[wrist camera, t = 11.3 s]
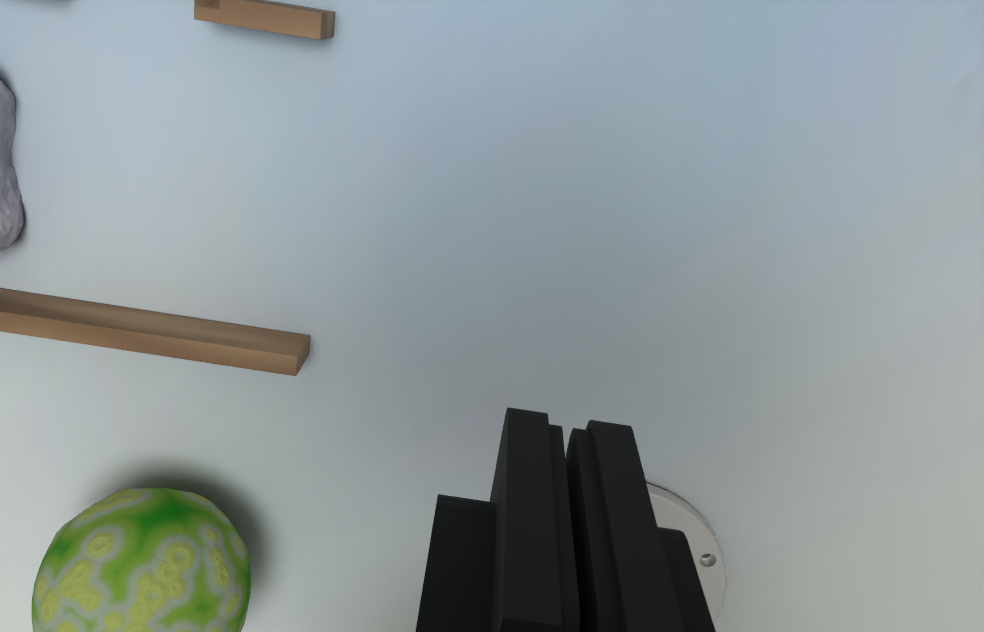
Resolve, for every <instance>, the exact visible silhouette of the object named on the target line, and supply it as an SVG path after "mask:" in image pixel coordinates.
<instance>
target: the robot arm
mask: <svg viewBox="0 0 984 632" xmlns="http://www.w3.org/2000/svg"><path fill="white" fill-rule="evenodd" d="M725 592H726V567H725V564H724V560H723V557H722V553H721V550H720V548H719V545H718V543H717V540H716V538H715V536H714V533H713V531H712V530H711V529H710V527H709V526H708V524H707V523H706V522H705V520H704V519H703V517H702V516H701V515H700V514H699V513H697V512H696V511H695V510H694V509H693V508H692V507H691V506H690V505H689V504H688V503H686V502H685V501H683V500H681V499H680V498H678V497H677V496H675V495H673V494H672V493H670V492H668V491H666V490H663V489H660V488H658V487H655V486H652V485H650V484H647V483H646V480H645V476H644V472H643V469H642V465H641V461H640V457H639V453H638V449H637V445H636V441H635V438H634V434H633V430H632V428H631V426H627V425H620V424H614V423H607V422H601V421H594V420H590V421H589V422H588V425H587V427H586V430H583V429H577V428H573V430H572V432H571V435H570V439H569V444H568V448H567V453H566V458H565V452H564V442H563V431H562V426H557V425H550V424H549V422H548V414H547V413H541V412H535V411H528V410H521V409H515V408H507V411H506V415H505V420H504V425H503V431H502V436H501V442H500V447H499V453H498V458H497V464H496V470H495V475H494V481H493V486H492V492H491V497H490V502H487V501H480V500H474V499H467V498H460V497H453V496H447V495H440V494H438V498H437V504H436V510H435V516H434V522H433V528H432V535H431V541H430V547H429V553H428V559H427V565H426V571H425V577H424V584H423V590H422V596H421V602H420V608H419V614H418V620H417V626H416V632H716V631H715V628H714V625H713V624H714V623H715V621H716V619H717V617H718V614H719V612H720V610H721V608H722V606H723V601H724V596H725Z"/></svg>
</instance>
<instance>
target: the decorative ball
mask: <svg viewBox="0 0 984 632" xmlns="http://www.w3.org/2000/svg"><path fill="white" fill-rule="evenodd" d="M250 589H251V577H250V565H249V558H248V553H247V547H246V545H245V544H244V542H243V540H242V539H241V537H240V535H239V533H238V532H237V531H236V529H235V528H234V526H233V525H232V523H231V522H230V521H229V519H228V518H227V517H226V516H225V515H224V513H223V512H222V511H220V510H219V509H218V508H217V507H216V506H215V505H214V504H213V503H212V502H211V501H209V500H207V499H205V498H204V497H202V496H200V495H198V494H195V493H191V492H185V491H180V490H174V489H169V488H135V489H125V490H121V491H118V492H115V493H113V494H112V495H110V496H108V497H106V498H105V499H103V500H101V501H99V502H97V503H96V504H94V505H92V506H91V507H89V508H87V509H86V510H85V511H83V512H82V513H80V514H79V515H77V516H76V517H75V518H73V519H72V520H70V521H69V522H68V523H66V524H65V525H64V526H63V527H61V529H60V530H59V531H58V532H57V533H56V535H55V537H54V539H53V541H52V542H51V544H50V546H49V548H48V550H47V552H46V554H45V556H44V558H43V560H42V563H41V566H40V568H39V571H38V574H37V577H36V581H35V584H34V591H33V597H32V625H33V632H241V630H242V628H243V626H244V623H245V618H246V613H247V608H248V603H249V598H250Z"/></svg>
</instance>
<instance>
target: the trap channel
mask: <svg viewBox="0 0 984 632" xmlns="http://www.w3.org/2000/svg"><path fill="white" fill-rule="evenodd" d="M194 19H196V20H202V21H208V22H214V23H220V24H227V25H233V26H239V27H245V28H251V29H257V30H263V31H270V32H276V33H282V34H288V35H294V36H300V37H307V38H313V39H319V40H321V39H325V38H329V37H333V33H334V20H335V12H333V11H327V10H321V9H315V8H309V7H302V6H296V5H290V4H284V3H278V2H272V1H266V0H195V5H194ZM0 331H2V332H8V333H15V334H22V335H28V336H35V337H41V338H48V339H55V340H61V341H68V342H74V343H81V344H88V345H94V346H101V347H107V348H114V349H121V350H127V351H134V352H140V353H147V354H154V355H160V356H167V357H173V358H180V359H187V360H193V361H200V362H206V363H213V364H220V365H226V366H233V367H240V368H246V369H253V370H259V371H266V372H273V373H279V374H286V375H292V376H296V375H297V373H298V372H299V370H300V368H301V367H302V365H303V363H304V361H305V360H306V358H307V356H308V355H309V346H310V335H303V334H297V333H290V332H284V331H277V330H271V329H264V328H258V327H251V326H245V325H238V324H231V323H225V322H218V321H212V320H205V319H199V318H192V317H186V316H179V315H173V314H166V313H159V312H153V311H146V310H140V309H133V308H127V307H120V306H114V305H107V304H101V303H94V302H88V301H81V300H74V299H68V298H61V297H55V296H48V295H42V294H35V293H29V292H22V291H16V290H9V289H2V288H0Z"/></svg>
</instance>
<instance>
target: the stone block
mask: <svg viewBox="0 0 984 632" xmlns="http://www.w3.org/2000/svg"><path fill="white" fill-rule="evenodd" d="M15 107H16V105H15V100H14V94H13V93H12V92H11V91H10V90H9V89H8V88H7V87H6V86H5V85H4V83H3V82H2V81H1V80H0V251H2V250H4V249H6V248H8V247H10V246H11V244H12V243H13V242H14V241H15V240H16V239H17V238H18V236H19V233H20V231H21V229H22V226H23V208H22V204H21V193H20V190H19V187H18V181H17V176H16V172H15V169H14V167H13V165H12V157H11V149H12V144H13V137H14V134H15V130H16V117H15Z"/></svg>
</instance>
